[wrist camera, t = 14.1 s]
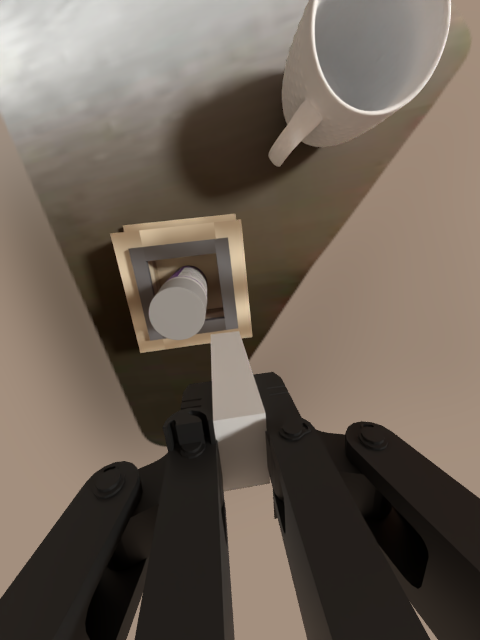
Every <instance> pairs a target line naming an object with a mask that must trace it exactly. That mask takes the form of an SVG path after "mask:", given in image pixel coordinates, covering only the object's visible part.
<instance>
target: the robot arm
mask: <svg viewBox="0 0 480 640" xmlns="http://www.w3.org/2000/svg"><path fill="white" fill-rule="evenodd" d="M211 366H212V381H210V382H203V383H196V384H189V386H188V387H187V388H186V390H185V391H184V392H183V398H182V404H181V410H180V411H178V412H176V413H175V414H173V415H172V416H170V417H169V418H168V419H167V420H166V422H165V424H164V426H163V431H164V435H165V439H166V444H167V448H168V453H167V454H166V455H165V456H164V457H162V458H161V459H159V460H157V461H155V462H154V463H151V464H149V465H147V466H144V467H142V468H140V469H137V467H136V466H135V465H134V464H132V463H130V462H126V461H122V462H115V463H112V464H110V465H107V466H105V467H103V468H102V469H100V470H99V471H97V472H96V473H94V474H93V476H91V478H90V479H89V480H88V481H87V482H86V483H85V485H84V486H83V487H82V488H81V490H80V491H79V493H78V494H77V495H76V497H75V498H74V499H73V501H72V502H71V503H70V505H69V506H68V508H67V509H66V510H65V511H64V513H63V514H62V516H61V517H60V519H59V520H58V521H57V522H56V524H55V525H54V526H53V528H52V529H51V531H50V532H49V533H48V535H47V536H46V537H45V539H44V540H43V542H42V543H41V544H40V546H39V547H38V548H37V550H36V551H35V552H34V554H33V555H32V556H31V558H30V559H29V561H28V562H27V563H26V565H25V566H24V567H23V569H22V570H21V571H20V573H19V574H18V576H17V577H16V578H15V580H14V581H13V582H12V584H11V585H10V586H9V588H8V589H7V590H6V592H5V593H4V595H3V596H2V597H1V599H0V640H126V639H127V636H128V633H129V630H130V627H131V624H132V622H133V619H134V616H135V613H136V610H137V608H138V605H139V602H140V599H141V596H142V594H143V596H142V601H141V607H140V613H139V618H138V624H137V630H136V636H135V640H234V625H233V610H232V597H231V581H230V566H229V553H228V552H229V551H228V537H227V523H226V509H225V502H224V491H229V490H234V489H240V488H246V487H252V486H257V485H263V484H268V483H270V479H271V483H272V486H273V499H274V517H275V519H276V518H278V521H279V525H280V528H281V533H282V537H283V541H284V546H285V549H286V554H287V558H288V562H289V566H290V570H291V574H292V578H293V582H294V587H295V591H296V595H297V599H298V603H299V607H300V611H301V615H302V619H303V623H304V628H305V631H306V635H307V640H430V638H429V636H428V634H427V633H426V631H425V629H424V627H423V625H422V624H421V621H420V620H419V618H418V616H417V615H416V612H415V611H414V609H413V607H414V608H415V609H416V611H417V612H418V613H419V615H420V616H421V617H422V619H423V620H424V621H425V623H426V624H427V625H428V626H429V628H430V629H431V631H432V632H433V633H434V635H435V636H436V637H437V639H438V640H480V498H478V497H477V496H476V495H474V494H473V493H472V492H470V491H469V490H468V489H466V488H465V487H464V486H462V485H461V484H460V483H459V482H457V481H456V480H454V479H453V478H452V477H451V476H449V475H448V474H447V473H445V472H444V471H443V470H441V469H440V468H439V467H437V466H436V465H435V464H434V463H432V462H431V461H430V460H428V459H427V458H425V457H424V456H423V455H422V454H420V453H419V452H417V451H416V450H415V449H414V448H412V447H411V446H410V445H408V444H407V443H406V442H405V441H403V440H402V439H401V438H399V437H398V436H397V435H395V434H394V433H393V432H391V431H390V430H388V429H386V428H385V427H383V426H381V425H378V424H375V423H372V422H357V423H353V424H352V425H350V426H349V427H348V428H347V431H346V434H345V435H343V434H333V433H326V432H321V431H318V430H316V429H315V428H314V427H313V426H312V425H311V423H310V422H308V421H307V420H305V419H303V418H301V416H300V414H299V412H298V410H297V408H296V406H295V404H294V402H293V400H292V398H291V396H290V395H289V393H288V390H287V388H286V387H285V384H284V383H283V381H282V379H281V377H279V376H278V375H277V374H275V373H274V372H270V373H262V374H255V375H253V373H252V370H251V367H250V364H249V360H248V357H247V354H246V351H245V348H244V345H243V342H242V339H241V336H240V333H239V331H236V332H228V333H220V334H212V335H211ZM269 475H270V476H269ZM411 604H412V605H413V607H412V605H411Z"/></svg>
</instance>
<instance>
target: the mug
mask: <svg viewBox="0 0 480 640" xmlns="http://www.w3.org/2000/svg"><path fill="white" fill-rule="evenodd" d="M450 16H451V0H309V2H308V4H307V6H306V8H305V10H304V14H303V17H302V19H301V21H300V22H299V25H298V29H297V32H296V34H295V35H294V39H293V43H292V45H291V47H290V51H289V55H288V58H287V60H286V67H285V69H284V78H283V82H282V84H283V87H282V103H283V104H282V107H283V113H284V117H285V120H286V123H287V126H286V127H285V129H284V130H283V131H282V133H281V134H280V136H279V137H278V138H277V140H276V141H275V143H274V144H273V146H272V147H271V149H270V151H269V158H270V160H271V162H272V163H273V164H274V165H275V166H278V167H280V166H281V165H282V163H283V162H284V161H285V159H286V158H287V157H288V155H289V154H290V153H291V152H292V151H293V149H294V148H295V147H296V146H297V145H298V144H299V143H300V142H301V141H302V142H303V143H305V144H308V145H310V146H315V147H329V146H335V145H337V144H342V143H344V142H346V141H350V140H351V139H353V138H356V137H358V136H359V135H361V134H363V133H365V132H367V131H368V130H369V129H371V128H373V127H375V126H376V125H377V124H378V123H380V122H382V121H384V120H385V119H386V118H387V117H389V116H391V115H392V114H393V113H394V112H396V111H397V110H399V109H400V108H402V107H403V106H404V105H406V104H407V103H408V102H410V101H411V100H412V99H413V98H414V97H415V96H416V95H417V94H418V93H419V92H420V91H421V89H422V88H423V87H424V86H425V84H426V83H427V82H428V80H429V79H430V77H431V75H432V74H433V72H434V70H435V68H436V66H437V64H438V62H439V60H440V57H441V55H442V52H443V49H444V47H445V43H446V40H447V36H448V31H449V25H450Z"/></svg>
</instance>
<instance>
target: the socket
mask: <svg viewBox="0 0 480 640" xmlns="http://www.w3.org/2000/svg"><path fill="white" fill-rule="evenodd" d="M123 228H124V232H120V233H111V234H110V235H111V239H112V243H113V246H114V250H115V254H116V258H117V262H118V266H119V270H120V274H121V278H122V282H123V286H124V290H125V294H126V298H127V302H128V306H129V310H130V313H131V317H132V321H133V325H134V329H135V333H136V337H137V341H138V345H139V349H140V353H143V352H150V351H157V350H164V349H171V348H178V347H185V346H192V345H199V344H206V343H211V335H212V334H220V333H228V332H236V331H239V333H240V336H241V338H248V337H252V328H251V318H250V307H249V297H248V287H247V276H246V266H245V256H244V246H243V235H242V225H241V220H236V215H235V214H228V215H219V216H209V217H200V218H190V219H181V220H171V221H162V222H152V223H143V224H133V225H124V226H123ZM187 265H190V266H195V267H197V268H199V269H200V270H201V271H202V272H203V273H204V274H205V276H206V279H207V306H206V315H205V321H204V324H203V326H202V328H201V329H200V331H199V332H198V333H197V334H195V335H194V336H192V337H190V338H188V339H184V340H172V339H168V338H166V337H164V336H162V335H160V334H159V333H158V332H157V331H156V330H155V329H154V328H153V326H152V324H151V322H150V319H149V306H150V303H151V301H152V299H153V298H154V296H155V295H156V294H157V292H158V291H159V290H160V288H161V287H162V286H163V284H164V283H165V282H166V281H167V280H168V279H169V278H170V277H171V276H172V275H173V274H174V273H175V272H176V271H177V270H178V269H179V268H181V267H183V266H187Z"/></svg>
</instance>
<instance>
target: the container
mask: <svg viewBox="0 0 480 640" xmlns="http://www.w3.org/2000/svg"><path fill="white" fill-rule="evenodd" d="M206 306H207V279H206V276H205V274H204V273H203V272H202V271H201V270H200V269H199V268H197V267H195V266H190V265H187V266H183V267H181V268H179V269H178V270H177V271H176V272H175V273H174V274H173V275H172V276H171V277H170V278H169V279H168V280H167V281H166V282H165V283H164V284H163V286H162V287H161V288H160V290H159V291H158V292H157V294H156V295H155V296H154V298H153V299H152V301H151V303H150V306H149V319H150V322H151V324H152V326H153V328H154V329H155V330H156V331H157V332H158V333H159V334H160V335H162V336H164V337H166V338H168V339H172V340H184V339H188V338H190V337H192V336H194V335H195V334H197V333H198V332H199V331H200V329H201V328H202V326H203V324H204V321H205V315H206Z"/></svg>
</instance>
